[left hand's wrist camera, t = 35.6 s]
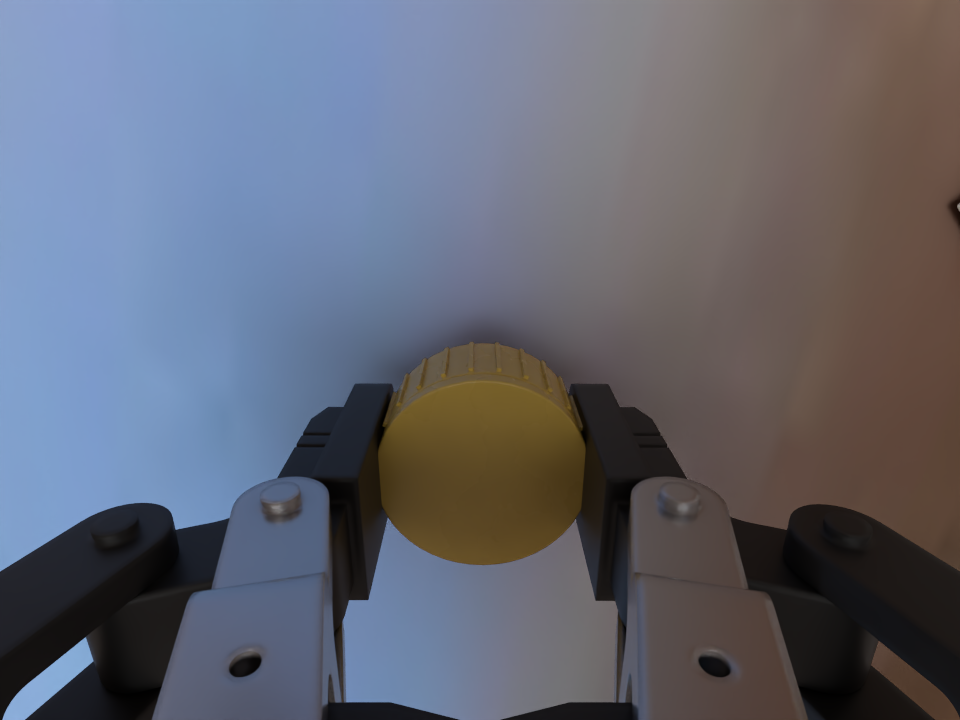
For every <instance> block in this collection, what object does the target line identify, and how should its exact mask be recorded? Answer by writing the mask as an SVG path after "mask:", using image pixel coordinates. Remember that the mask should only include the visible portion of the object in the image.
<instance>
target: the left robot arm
mask: <svg viewBox="0 0 960 720" xmlns="http://www.w3.org/2000/svg"><path fill="white" fill-rule="evenodd" d="M393 392H394V390H393V386H392V384H355V385H354V387H353V389H352V391H351V393H350V395H349V397H348V399H347V401H346V403H345V405H344V407H328V408H326V409H325V410H323V411H322V412H321V413H319V414H318V415H316V416H315V417H313V418H312V419H311V420H310V422H309V424H308V425H307V427H306V429H305V431H304V432H303V436H301V438H300V439H299V441H298V443H297V447H295V448H294V450H293V452H292V453H291V455H290V457H289V459H288V460H287V462H286V464H285V465H284V467H283V469H282V471H281V472H280V474H279V476H278V478H277V479H273V480H269V481H266V482H263V483H260V484H258V485H256V486H254V487H252V488H250V489H249V490H247V491H246V492H244V493H243V494H242V495H241V496H240V497H239V498H238V499H237V500H236V502H235V503H234V505H233V508H232V511H231V515H230V518H228V519H225V520H222V521H217V522H213V523H208V524H203V525H198V526H193V527H188V528H183V529H178V530H175V526H174V521H173V517H172V514H171V512H170V511H169V510H168V509H167V508H165V507H163V506H161V505H157V504H152V503H134V504H127V505H122V506H117V507H114V508H110V509H107V510H105V511H102V512H99V513H97V514H95V515H93V516H90V517H88V518H87V519H85V520H83V521H81V522H80V523H78V524H76V525H75V526H73V527H72V528H70V529H68V530H67V531H65V532H64V533H62V534H60V535H59V536H57V537H55V538H54V539H52V540H51V541H49V542H47V543H46V544H44V545H43V546H41V547H39V548H38V549H36V550H34V551H33V552H31V553H30V554H28V555H26V556H25V557H23V558H22V559H20V560H18V561H17V562H15V563H13V564H12V565H10V566H9V567H7V568H5V569H4V570H2V571H0V720H2V719H3V716H4V713H5V711H6V709H7V707H8V706H9V704H10V702H11V701H12V699H13V698H14V697H15V696H16V694H17V693H18V692H19V691H20V690H21V689H22V688H23V687H24V686H25V685H27V684H28V683H29V682H30V681H31V680H33V679H34V678H35V677H36V676H38V675H39V674H40V673H41V672H43V671H44V670H45V669H46V668H48V667H49V666H50V665H51V664H53V663H54V662H55V661H56V660H58V659H59V658H60V657H61V656H63V655H64V654H65V653H66V652H67V651H69V650H70V649H71V648H72V647H74V646H75V645H76V644H77V643H79V642H80V641H81V640H82V639H84V638H85V637H86V639H87V642H88V645H89V648H90V651H91V654H92V657H93V660H94V661H93V662H92V663H91V664H90V665H89V666H88V667H86V668H85V669H84V670H83V671H82V672H81V673H79V674H78V675H77V676H76V677H75V678H74V679H72V680H71V681H70V682H69V683H68V684H66V685H65V686H64V687H63V688H62V689H61V690H59V691H58V692H57V693H56V694H55V695H54V696H52V697H51V698H50V699H49V700H48V701H47V702H45V703H44V704H43V705H42V706H41V707H40V708H38V709H37V710H36V711H35V712H34V713H33V714H31V715H30V716H29V717H28V718H27V719H25V720H458V719H454V718H450V717H446V716H442V715H438V714H434V713H430V712H426V711H422V710H418V709H414V708H410V707H406V706H402V705H398V704H395V703H391V702H346V675H345V636H344V626H343V618H344V616H345V613H346V609H347V605H348V602H349V600H368V599H369V595H370V590H371V586H372V582H373V578H374V573H375V569H376V565H377V560H378V556H379V552H380V548H381V543H382V539H383V535H384V531H385V526H386V522H387V518H388V516H387V515H386V513H385V511H384V509H383V507H382V501H381V488H380V474H379V461H378V447H379V444H380V441H381V438H382V435H383V431H384V428H385V427H384V426H382V425H383V422H384V419H385V415H386V412H387V409H388V406H389V403H390V400H391V397H392V394H393ZM571 395H572V396H573V399H574V402H575V405H576V408H577V411H578V414H579V417H580V420H581V423H582V426H583V429H582V431H581V432H582V435H583V438H584V441H585V444H586V452H585V465H584V478H583V491H582V504H581V510H580V513H579V514H578V516H577V517H576V522H577V526H578V530H579V534H580V538H581V542H582V546H583V550H584V554H585V559H586V563H587V567H588V571H589V575H590V579H591V583H592V587H593V592H594V596H595V600H596V601H615V602H616V605H617V609H618V617H617V626H616V636H615V675H614V702H569V703H565V704H562V705H558V706H554V707H550V708H546V709H542V710H538V711H534V712H530V713H526V714H522V715H518V716H514V717H510V718H506V719H502V720H935V719H933V718H932V717H931V716H930V715H929V714H928V713H926V712H925V711H924V710H923V709H922V708H920V707H919V706H918V705H917V704H916V703H915V702H913V701H912V700H911V699H910V698H909V697H908V696H906V695H905V694H904V693H903V692H902V691H901V690H899V689H898V688H897V687H896V686H895V685H894V684H892V683H891V682H890V681H889V680H888V679H886V678H885V677H884V676H883V675H882V674H881V673H879V672H878V671H877V670H876V669H875V668H874V667H872V666H871V662H872V659H873V656H874V653H875V650H876V647H877V644H878V641H880V642H881V643H883V644H884V645H885V646H886V647H888V648H889V649H890V650H891V651H893V652H894V653H895V654H896V655H898V656H899V657H900V658H901V659H902V660H904V661H905V662H906V663H907V664H909V665H910V666H911V667H912V668H914V669H915V670H916V671H917V672H919V673H920V674H921V675H922V676H924V677H925V678H926V679H927V680H929V681H930V682H931V683H932V684H934V685H935V686H936V687H937V688H938V689H939V690H941V691H942V692H943V693H944V694H945V695H946V697H947V698H948V699H949V700H950V702H951V703H952V704H953V706H954V707H955V709H956V711H957V713H958V715H959V717H960V571H958V570H956V569H955V568H953V567H951V566H950V565H948V564H947V563H945V562H943V561H942V560H940V559H939V558H937V557H935V556H934V555H932V554H930V553H929V552H927V551H926V550H924V549H922V548H921V547H919V546H917V545H916V544H914V543H913V542H911V541H909V540H908V539H906V538H905V537H903V536H901V535H900V534H898V533H896V532H895V531H893V530H892V529H890V528H888V527H887V526H885V525H884V524H882V523H880V522H878V521H877V520H875V519H873V518H871V517H869V516H867V515H864V514H862V513H859V512H857V511H854V510H850V509H847V508H843V507H838V506H832V505H821V504H816V505H807V506H803V507H800V508H798V509H796V510H795V511H794V512H793V513H792V514H791V516H790V519H789V524H788V528H787V530H784V529H779V528H774V527H769V526H764V525H758V524H753V523H749V522H745V521H741V520H738V519H735V518H732V517H730V515H729V511H728V508H727V505H726V503H725V502H724V500H723V499H722V498H721V497H720V496H719V495H718V494H717V493H716V492H714V491H713V490H711V489H710V488H708V487H706V486H704V485H702V484H700V483H697V482H694V481H691V480H687V478H686V476H685V475H684V473H683V471H682V469H681V468H680V466H679V464H678V463H677V461H676V459H675V458H674V456H673V454H672V452H671V451H670V449H669V448H667V444H666V442H665V440H664V439H663V437H662V436H660V432H659V430H658V428H657V427H656V425H655V423H654V422H653V420H652V419H651V418H650V417H648V416H647V415H645V414H644V413H642V412H641V411H639V410H638V409H636V408H635V407H619V405H618V403H617V401H616V399H615V397H614V395H613V393H612V391H611V389H610V387H609V385H608V384H571V386H570V391H569V396H571Z"/></svg>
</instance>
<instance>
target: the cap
mask: <svg viewBox="0 0 960 720" xmlns="http://www.w3.org/2000/svg"><path fill="white" fill-rule="evenodd" d="M382 426H384V427H385V428H384V431H383V435H382V438H381V441H380V444H379V447H378V461H379V474H380V488H381V501H382V507H383V509H384V511H385V513H386V515H387V516H388V518H389V519H390V521H391V522H392V524H393V525H394V526H395V527H396V528H397V529H398V531H399V532H400V533H401V534H402V535H403V536H405V537H406V538H407V539H408V540H409V541H410V542H412V543H413V544H415V545H416V546H418V547H419V548H421V549H423V550H425V551H427V552H428V553H430V554H432V555H435V556H438V557H440V558H443V559H446V560H450V561H453V562H458V563H464V564H473V565H491V564H500V563H506V562H511V561H515V560H518V559H522V558H524V557H527V556H529V555H532V554H534V553H536V552H538V551H540V550H542V549H544V548H545V547H547V546H548V545H550V544H551V543H553V542H554V541H555V540H556V539H558V538H559V537H560V536H561V535H562V534H563V533H564V532H565V531H566V530H567V529H568V528H569V527H570V526H571V524H572V523H573V522H574V520H575V519H576V517H577V516H578V514H579V513H580V510H581V504H582V491H583V478H584V465H585V452H586V444H585V441H584V438H583V435H582V432H581V431H582V429H583V426H582V423H581V420H580V417H579V414H578V411H577V408H576V405H575V402H574V399H573V396H572V395H571V396H569V394H568V392H567V390H566V388H565V386H564V383H563V380H562V378H561V376H559V377H557V376H556V375H555V374H554V373H553V372H552V370H551V369H549V368H548V367H547V366H546V363H545V361H543V360H541V361H539V360H538V359H536V358H534V357H533V356H531V355H529V354H527V353H525V352H524V350H523V349H521V348H520V349H519V350H518V349H515V348H511V347H508V346H503V345H500V343H498V342H495V344H488V343H477V344H474V342H469V344H466V345H461V346H456V347H453V348H450V349H449V347H446V348H444V351H442V352H439V353H437V354H435V355H433V356H431V357H430V358H428V359H427V358H424V359H422V363H421V364H420V365H418V366H417V367H416V368H415V369H414V370H413V371H412V372H411V373H410V374H408V373H406V374H405V376H404V379H403V383H402V384H401V386H400V387H399V389H398V391H397V393H396V392H393V394H392V397H391V400H390V403H389V406H388V409H387V412H386V415H385V419H384V422H383V425H382Z"/></svg>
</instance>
